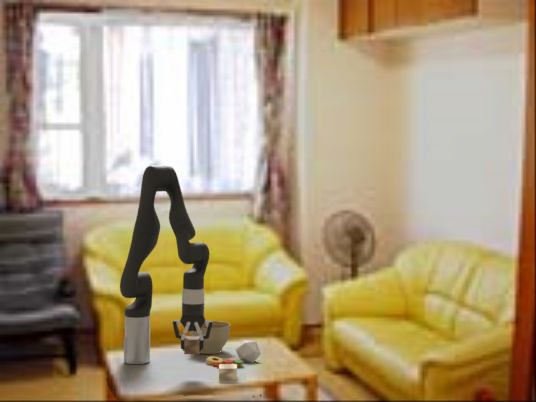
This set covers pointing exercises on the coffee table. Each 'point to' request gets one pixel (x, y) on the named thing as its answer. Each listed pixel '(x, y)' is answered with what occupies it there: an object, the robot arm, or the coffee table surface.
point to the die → (248, 351)
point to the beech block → (227, 371)
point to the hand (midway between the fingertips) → (192, 350)
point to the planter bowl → (214, 337)
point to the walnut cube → (191, 345)
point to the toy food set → (223, 361)
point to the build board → (240, 379)
